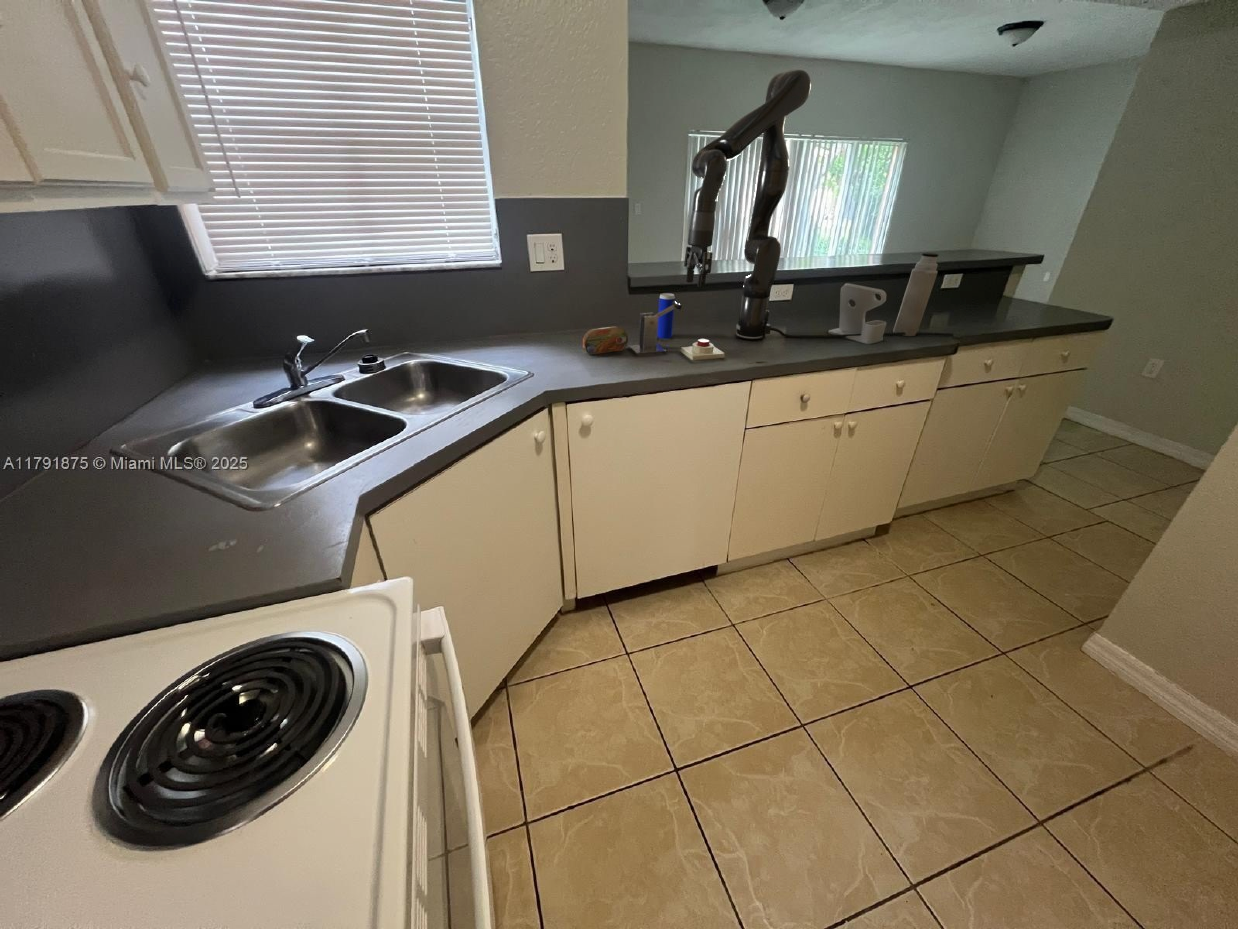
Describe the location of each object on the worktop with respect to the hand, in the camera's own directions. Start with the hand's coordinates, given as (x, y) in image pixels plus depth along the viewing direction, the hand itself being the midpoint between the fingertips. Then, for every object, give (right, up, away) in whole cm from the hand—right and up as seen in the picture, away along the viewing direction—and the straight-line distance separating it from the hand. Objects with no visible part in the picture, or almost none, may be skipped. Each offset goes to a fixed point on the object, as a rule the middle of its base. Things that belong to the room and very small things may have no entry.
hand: (694, 284), depth 154 cm
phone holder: (+63, -10, +24) cm, 68 cm away
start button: (+2, -20, -2) cm, 20 cm away
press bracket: (-15, -20, +3) cm, 26 cm away
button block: (+2, -23, 0) cm, 23 cm away
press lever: (-10, -10, -1) cm, 15 cm away
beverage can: (-8, -13, +16) cm, 23 cm away
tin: (-29, -22, +1) cm, 36 cm away
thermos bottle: (+84, -8, +29) cm, 89 cm away
